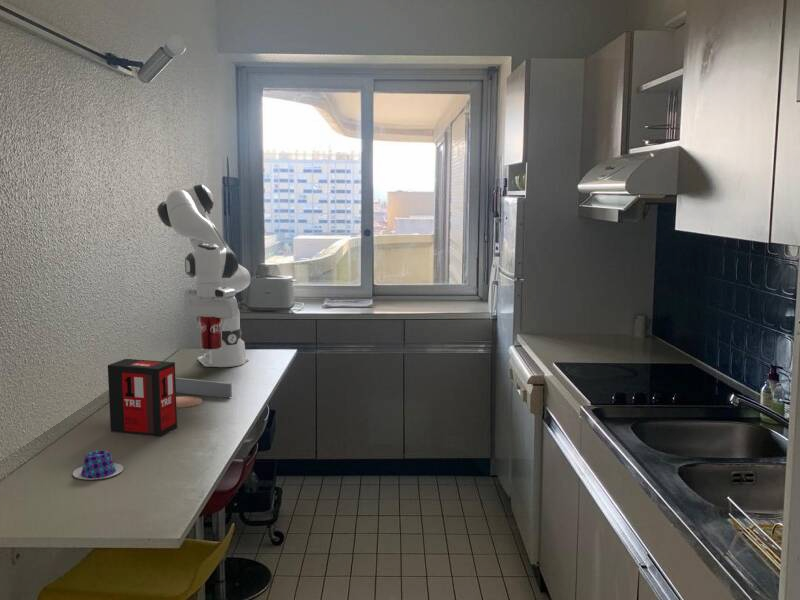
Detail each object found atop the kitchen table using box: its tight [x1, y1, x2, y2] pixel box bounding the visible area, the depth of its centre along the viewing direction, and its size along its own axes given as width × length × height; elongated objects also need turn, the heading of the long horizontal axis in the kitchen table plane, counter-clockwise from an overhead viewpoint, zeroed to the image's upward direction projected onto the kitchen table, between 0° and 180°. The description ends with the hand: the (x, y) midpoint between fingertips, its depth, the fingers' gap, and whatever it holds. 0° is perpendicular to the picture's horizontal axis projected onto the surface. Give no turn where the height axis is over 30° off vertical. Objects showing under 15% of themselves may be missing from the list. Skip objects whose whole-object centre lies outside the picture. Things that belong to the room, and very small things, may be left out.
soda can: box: [199, 316, 222, 351], centre depth 283 cm, size 7×7×12 cm
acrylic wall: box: [175, 376, 233, 398], centre depth 278 cm, size 24×1×5 cm, turn 70°
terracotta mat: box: [176, 395, 203, 409], centre depth 269 cm, size 13×13×1 cm
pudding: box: [72, 450, 124, 481], centre depth 204 cm, size 12×12×5 cm
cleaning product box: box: [107, 358, 178, 438], centre depth 238 cm, size 16×9×20 cm, turn 74°
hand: (211, 329), depth 283 cm, fingers closed on soda can, 7 cm apart
